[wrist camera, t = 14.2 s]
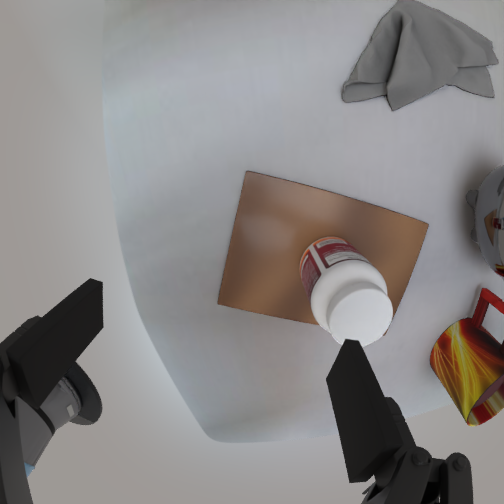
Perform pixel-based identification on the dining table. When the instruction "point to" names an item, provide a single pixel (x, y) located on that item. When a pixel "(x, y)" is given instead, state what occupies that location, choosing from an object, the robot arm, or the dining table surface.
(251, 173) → the cork mat
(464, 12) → the dining table surface
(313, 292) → the pill bottle
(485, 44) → the cloth
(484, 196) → the piggy bank
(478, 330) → the mug
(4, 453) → the robot arm
